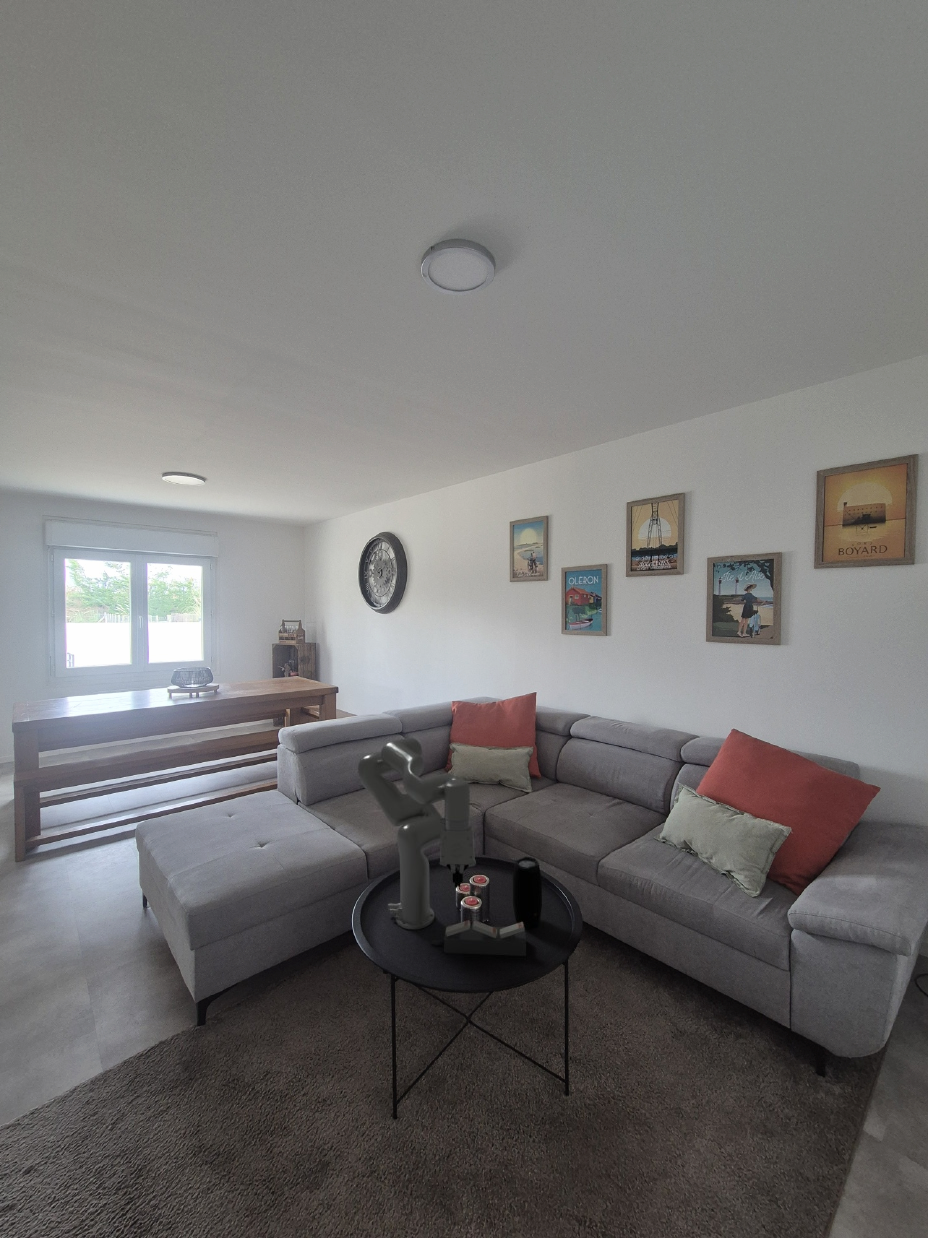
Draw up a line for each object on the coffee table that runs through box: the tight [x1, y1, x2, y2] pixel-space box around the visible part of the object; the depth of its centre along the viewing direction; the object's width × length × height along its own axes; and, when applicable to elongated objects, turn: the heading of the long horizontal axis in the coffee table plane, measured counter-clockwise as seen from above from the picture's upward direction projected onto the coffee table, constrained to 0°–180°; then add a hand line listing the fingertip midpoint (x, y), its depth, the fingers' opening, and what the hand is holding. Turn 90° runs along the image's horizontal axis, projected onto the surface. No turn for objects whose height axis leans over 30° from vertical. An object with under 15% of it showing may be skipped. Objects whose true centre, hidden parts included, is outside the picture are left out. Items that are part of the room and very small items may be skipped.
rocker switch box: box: [431, 924, 527, 957], centre depth 150 cm, size 28×7×5 cm, turn 86°
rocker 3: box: [500, 922, 524, 938], centre depth 148 cm, size 7×3×1 cm, turn 86°
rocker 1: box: [445, 919, 471, 936], centre depth 149 cm, size 7×3×1 cm, turn 86°
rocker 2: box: [472, 920, 497, 938], centre depth 148 cm, size 7×3×1 cm, turn 85°
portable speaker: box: [512, 856, 543, 930], centre depth 162 cm, size 9×9×20 cm
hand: (457, 884), depth 149 cm, fingers closed
